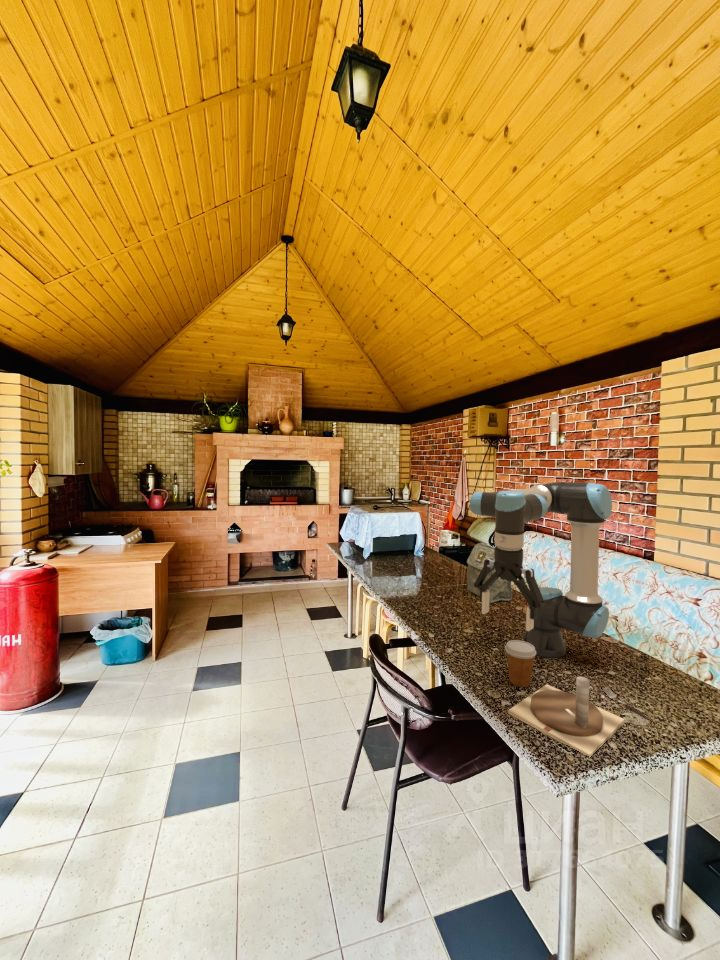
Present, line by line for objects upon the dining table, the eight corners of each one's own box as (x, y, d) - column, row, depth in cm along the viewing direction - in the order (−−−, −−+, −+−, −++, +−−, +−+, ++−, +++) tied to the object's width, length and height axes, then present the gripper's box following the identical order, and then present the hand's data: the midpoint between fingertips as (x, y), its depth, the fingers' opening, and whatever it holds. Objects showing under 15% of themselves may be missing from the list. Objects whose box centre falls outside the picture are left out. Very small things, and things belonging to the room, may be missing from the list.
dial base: (546, 687, 129) (546, 683, 129) (624, 722, 111) (624, 718, 111) (508, 713, 115) (508, 709, 115) (590, 758, 98) (590, 754, 98)
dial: (518, 697, 121) (519, 653, 120) (573, 692, 123) (574, 649, 123) (555, 738, 103) (557, 687, 102) (619, 732, 105) (621, 682, 105)
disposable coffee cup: (510, 670, 138) (510, 636, 138) (539, 680, 132) (540, 645, 132) (499, 682, 131) (500, 646, 130) (530, 693, 125) (531, 656, 124)
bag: (463, 590, 223) (464, 541, 222) (488, 587, 228) (489, 540, 227) (487, 604, 202) (488, 550, 200) (514, 601, 207) (515, 548, 205)
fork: (651, 726, 110) (651, 719, 110) (601, 693, 126) (602, 687, 126) (658, 724, 111) (659, 717, 111) (608, 692, 126) (608, 686, 126)
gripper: (462, 540, 118) (461, 609, 120) (547, 560, 99) (543, 641, 101) (477, 536, 123) (476, 603, 125) (560, 554, 104) (557, 632, 106)
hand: (506, 620), depth 113 cm, fingers open, 13 cm apart
